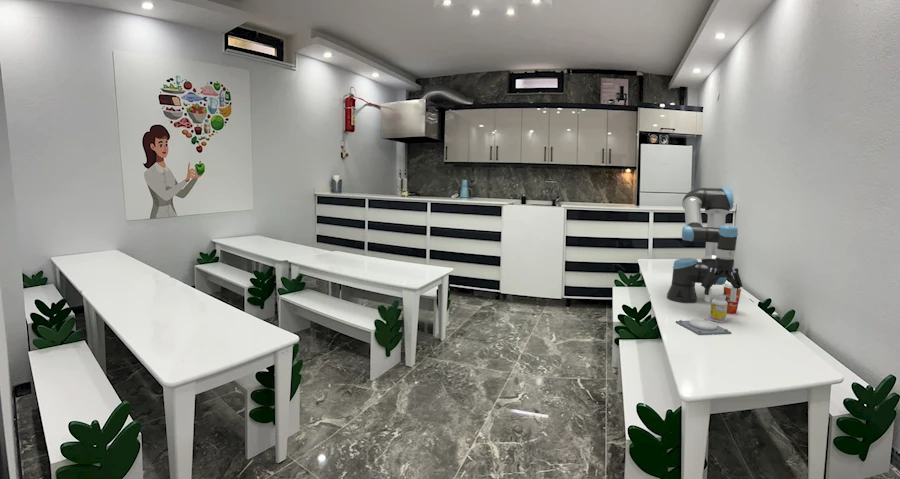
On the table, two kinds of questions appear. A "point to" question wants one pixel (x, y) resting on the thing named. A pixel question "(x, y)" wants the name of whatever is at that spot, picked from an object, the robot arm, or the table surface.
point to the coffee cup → (727, 291)
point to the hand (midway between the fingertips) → (719, 301)
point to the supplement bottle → (718, 308)
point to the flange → (703, 327)
